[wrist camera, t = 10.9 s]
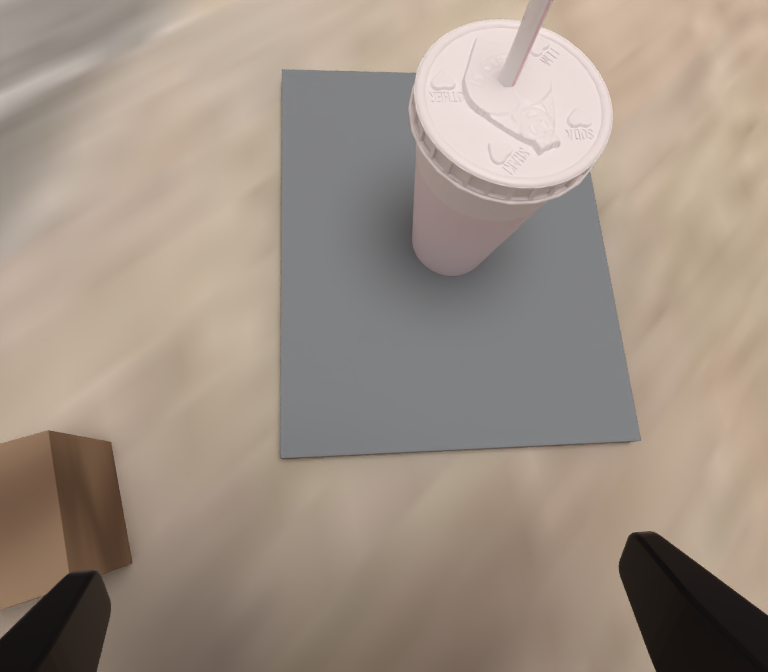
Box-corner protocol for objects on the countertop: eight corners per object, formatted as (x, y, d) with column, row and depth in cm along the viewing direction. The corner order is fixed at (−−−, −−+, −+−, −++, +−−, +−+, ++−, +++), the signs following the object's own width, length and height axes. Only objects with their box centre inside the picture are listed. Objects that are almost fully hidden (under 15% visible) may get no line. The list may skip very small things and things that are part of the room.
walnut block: (133, 562, 21) (71, 586, 16) (0, 606, 20) (-108, 645, 15) (111, 442, 22) (48, 430, 17) (-15, 478, 21) (-119, 477, 16)
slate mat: (631, 441, 24) (641, 440, 23) (282, 459, 22) (280, 458, 21) (566, 87, 29) (572, 77, 28) (283, 81, 28) (281, 69, 27)
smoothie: (472, 166, 26) (613, -168, 13) (537, 269, 25) (771, 18, 11) (361, 212, 25) (389, -104, 11) (424, 324, 24) (538, 113, 10)
